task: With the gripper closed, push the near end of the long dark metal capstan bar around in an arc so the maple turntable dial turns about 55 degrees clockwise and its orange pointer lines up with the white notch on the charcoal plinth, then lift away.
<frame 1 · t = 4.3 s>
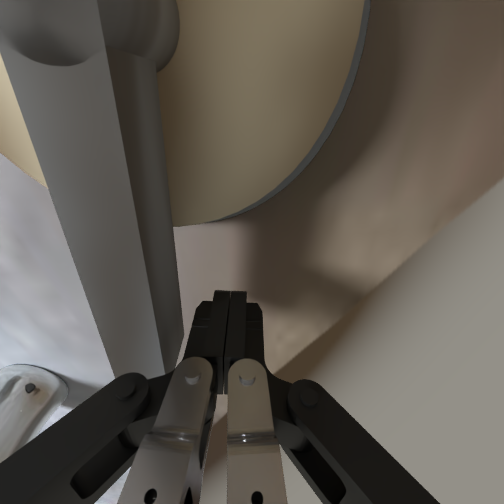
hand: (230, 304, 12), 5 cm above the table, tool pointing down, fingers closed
beer glass: (35, 382, 24), on the table
capstan dial: (111, 6, 7), point 5 cm above the table, hinge at -0.2°, touching gripper
dial plinth: (165, 38, 11), on the table
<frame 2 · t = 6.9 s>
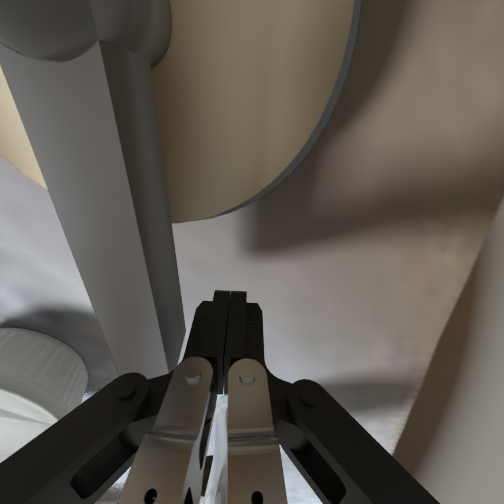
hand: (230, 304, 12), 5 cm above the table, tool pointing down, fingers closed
beer glass: (243, 405, 27), on the table
ramekin: (35, 359, 23), on the table
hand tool: (234, 477, 38), on the table
capstan dial: (104, 2, 7), point 5 cm above the table, hinge at -38.4°, touching gripper
dial plinth: (158, 35, 11), on the table
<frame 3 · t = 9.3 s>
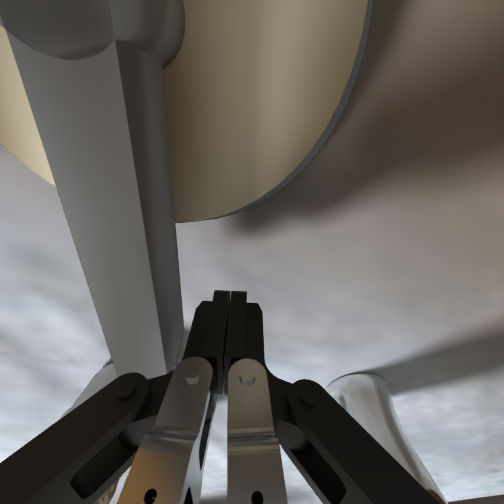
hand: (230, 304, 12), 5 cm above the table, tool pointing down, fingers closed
figurine: (95, 467, 35), on the table
beer glass: (354, 389, 25), on the table
ramekin: (150, 383, 25), on the table
capstan dial: (119, 1, 7), point 5 cm above the table, hinge at -61.2°
dial plinth: (168, 35, 11), on the table
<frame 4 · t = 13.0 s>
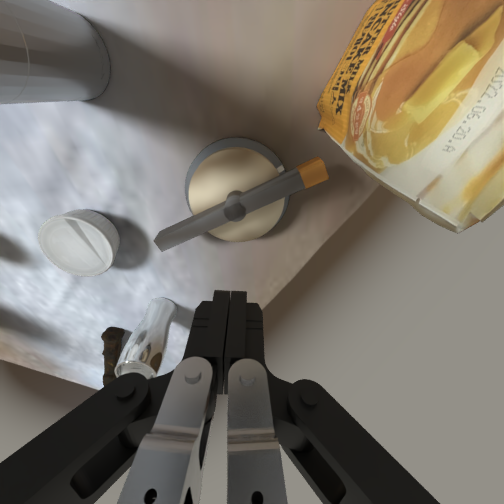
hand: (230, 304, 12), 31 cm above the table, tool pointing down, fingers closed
beer glass: (163, 307, 55), on the table
ramekin: (94, 233, 46), on the table
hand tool: (119, 352, 63), on the table
pancake mix bag: (360, 69, 33), on the table
capstan dial: (236, 203, 37), point 5 cm above the table, hinge at -61.2°
dial plinth: (237, 191, 41), on the table
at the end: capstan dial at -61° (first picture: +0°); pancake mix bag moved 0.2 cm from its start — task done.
